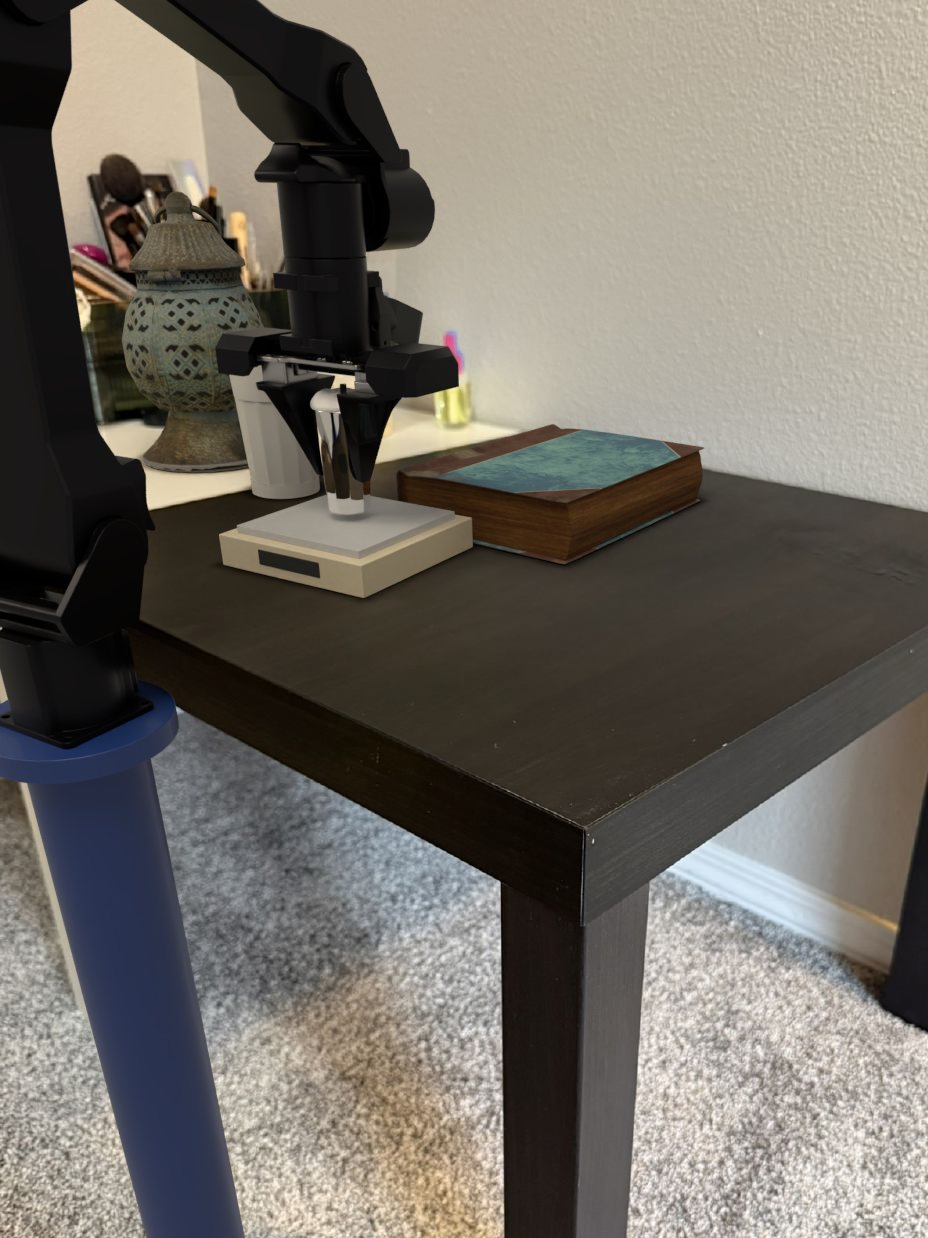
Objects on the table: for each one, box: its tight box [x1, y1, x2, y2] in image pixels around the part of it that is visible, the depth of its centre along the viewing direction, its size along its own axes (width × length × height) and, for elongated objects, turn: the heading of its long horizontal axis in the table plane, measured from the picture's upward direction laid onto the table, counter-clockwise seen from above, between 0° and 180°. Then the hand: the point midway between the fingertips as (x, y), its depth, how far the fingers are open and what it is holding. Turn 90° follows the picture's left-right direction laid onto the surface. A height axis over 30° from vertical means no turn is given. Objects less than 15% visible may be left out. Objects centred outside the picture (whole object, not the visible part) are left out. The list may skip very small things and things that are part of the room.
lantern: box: [121, 191, 265, 474], centre depth 109 cm, size 14×14×25 cm
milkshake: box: [310, 382, 371, 515], centre depth 82 cm, size 4×5×10 cm
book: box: [396, 423, 705, 565], centre depth 96 cm, size 23×18×5 cm
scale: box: [218, 494, 474, 599], centre depth 86 cm, size 14×14×3 cm
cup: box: [229, 366, 321, 500], centre depth 101 cm, size 8×8×12 cm
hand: (343, 478), depth 84 cm, fingers closed on milkshake, 4 cm apart
